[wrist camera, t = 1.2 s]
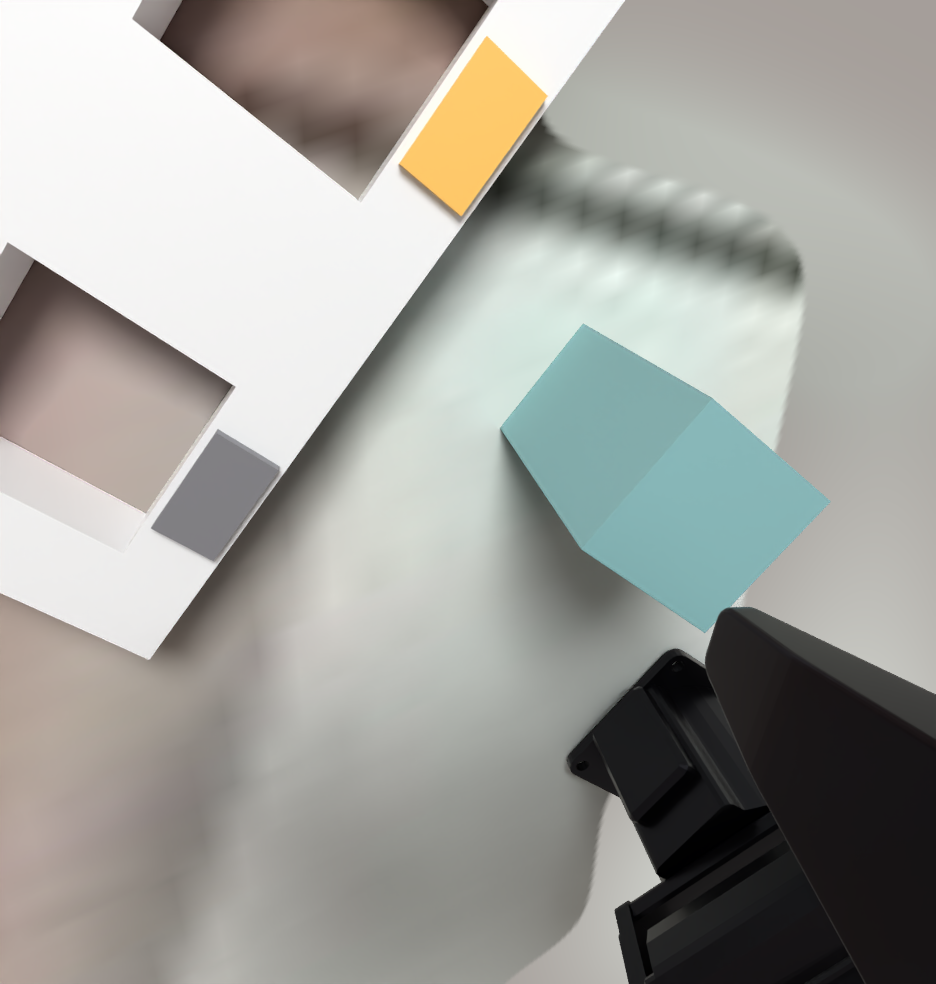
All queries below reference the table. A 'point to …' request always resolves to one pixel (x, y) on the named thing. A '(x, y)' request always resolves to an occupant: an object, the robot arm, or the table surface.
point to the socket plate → (223, 267)
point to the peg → (657, 477)
